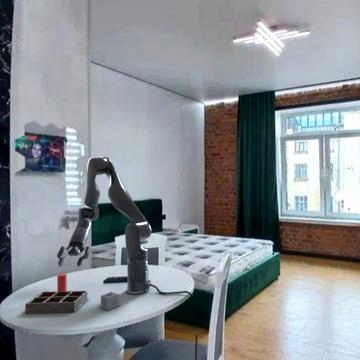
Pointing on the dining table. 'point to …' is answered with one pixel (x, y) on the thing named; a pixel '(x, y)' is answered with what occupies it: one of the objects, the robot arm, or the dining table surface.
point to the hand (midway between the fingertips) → (69, 265)
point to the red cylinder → (62, 282)
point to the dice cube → (109, 301)
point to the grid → (56, 302)
